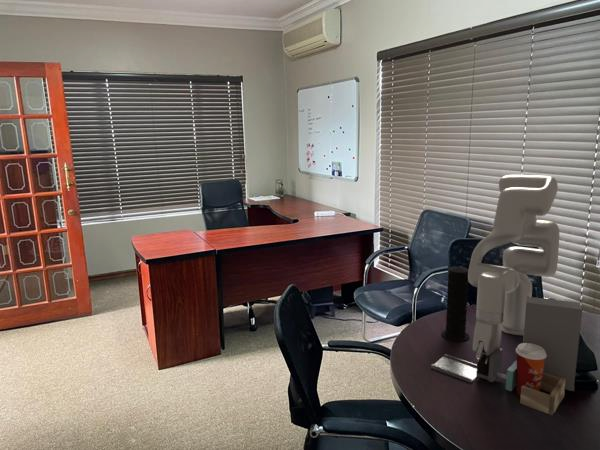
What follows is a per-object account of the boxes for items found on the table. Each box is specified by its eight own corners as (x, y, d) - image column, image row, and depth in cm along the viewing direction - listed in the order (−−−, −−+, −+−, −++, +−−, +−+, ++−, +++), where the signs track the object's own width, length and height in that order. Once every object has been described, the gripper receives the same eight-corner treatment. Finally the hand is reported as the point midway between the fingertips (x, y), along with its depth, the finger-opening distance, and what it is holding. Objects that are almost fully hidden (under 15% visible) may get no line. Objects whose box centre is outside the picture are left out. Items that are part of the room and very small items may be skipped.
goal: (533, 385, 129) (535, 367, 127) (564, 395, 123) (566, 377, 122) (520, 403, 120) (521, 384, 119) (552, 415, 115) (554, 395, 114)
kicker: (483, 368, 136) (485, 341, 134) (519, 381, 129) (522, 352, 127) (474, 377, 131) (475, 350, 129) (511, 391, 124) (513, 362, 122)
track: (444, 356, 146) (444, 353, 146) (484, 370, 137) (484, 366, 137) (431, 367, 139) (431, 364, 139) (471, 382, 131) (471, 379, 130)
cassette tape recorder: (571, 381, 130) (580, 301, 125) (573, 392, 125) (583, 309, 120) (519, 371, 136) (526, 295, 131) (519, 381, 131) (526, 302, 126)
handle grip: (442, 341, 157) (472, 343, 155) (445, 270, 151) (476, 271, 149) (439, 329, 166) (467, 330, 164) (442, 262, 161) (471, 263, 159)
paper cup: (533, 405, 119) (537, 358, 116) (506, 391, 126) (510, 347, 123) (548, 395, 123) (553, 349, 120) (522, 383, 130) (525, 339, 127)
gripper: (488, 302, 136) (485, 356, 140) (464, 319, 125) (461, 377, 129) (513, 308, 131) (509, 364, 135) (491, 327, 120) (487, 387, 123)
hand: (486, 370), depth 132 cm, fingers closed on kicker, 4 cm apart
